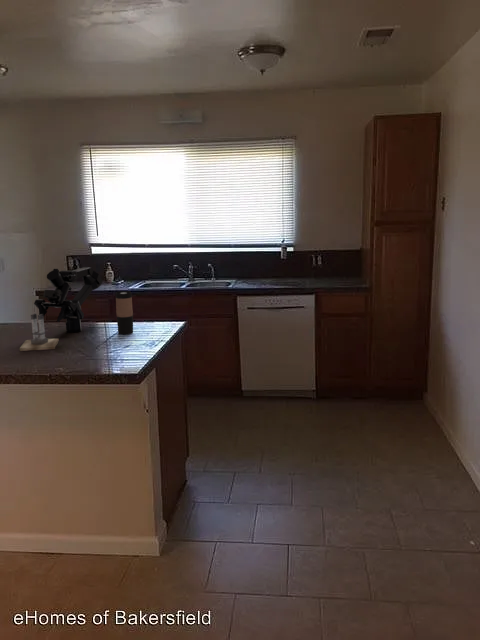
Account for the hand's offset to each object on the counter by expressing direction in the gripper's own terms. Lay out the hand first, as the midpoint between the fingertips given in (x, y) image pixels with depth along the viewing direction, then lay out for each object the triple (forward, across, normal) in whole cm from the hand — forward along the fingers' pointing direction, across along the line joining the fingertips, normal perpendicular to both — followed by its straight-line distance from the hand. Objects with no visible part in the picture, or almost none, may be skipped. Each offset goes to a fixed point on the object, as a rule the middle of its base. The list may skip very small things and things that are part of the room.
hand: (48, 320), depth 239 cm
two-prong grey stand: (+12, 0, 0) cm, 12 cm away
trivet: (+12, 0, +1) cm, 13 cm away
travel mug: (-9, +27, +22) cm, 36 cm away
